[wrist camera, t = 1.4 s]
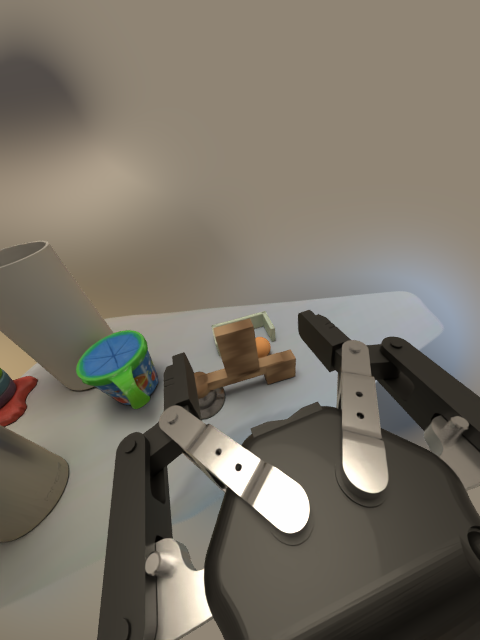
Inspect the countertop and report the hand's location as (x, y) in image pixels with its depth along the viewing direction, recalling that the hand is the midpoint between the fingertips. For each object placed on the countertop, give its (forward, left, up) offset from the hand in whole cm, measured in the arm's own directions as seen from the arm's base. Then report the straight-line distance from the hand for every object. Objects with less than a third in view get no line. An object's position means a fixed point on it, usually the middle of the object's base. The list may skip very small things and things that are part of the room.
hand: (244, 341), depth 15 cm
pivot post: (-7, +11, -23) cm, 26 cm away
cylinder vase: (-29, +27, -23) cm, 46 cm away
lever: (0, +11, -22) cm, 25 cm away
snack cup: (-19, +18, -23) cm, 35 cm away
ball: (+5, +17, -21) cm, 27 cm away
